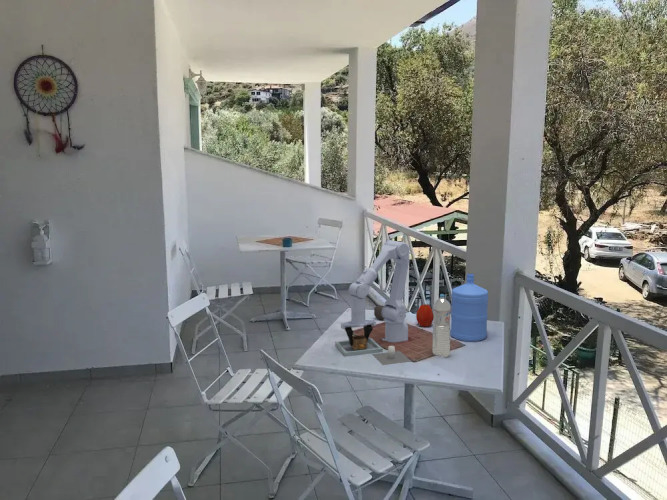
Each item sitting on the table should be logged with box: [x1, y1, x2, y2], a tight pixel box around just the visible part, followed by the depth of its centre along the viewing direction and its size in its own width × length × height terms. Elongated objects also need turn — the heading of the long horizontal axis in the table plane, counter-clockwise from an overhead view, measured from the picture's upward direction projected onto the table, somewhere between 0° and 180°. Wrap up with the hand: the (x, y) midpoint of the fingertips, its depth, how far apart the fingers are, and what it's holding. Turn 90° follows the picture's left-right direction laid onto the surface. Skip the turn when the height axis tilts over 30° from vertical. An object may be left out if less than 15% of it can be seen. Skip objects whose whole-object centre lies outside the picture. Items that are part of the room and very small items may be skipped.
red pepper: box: [415, 303, 434, 328], centre depth 254 cm, size 8×8×11 cm
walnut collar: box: [349, 334, 368, 351], centre depth 220 cm, size 6×8×4 cm
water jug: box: [450, 273, 489, 342], centre depth 236 cm, size 16×16×28 cm
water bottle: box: [432, 293, 452, 358], centre depth 214 cm, size 7×7×25 cm
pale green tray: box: [334, 337, 384, 358], centre depth 222 cm, size 16×14×2 cm
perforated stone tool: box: [373, 304, 384, 321], centre depth 263 cm, size 15×5×7 cm, turn 59°
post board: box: [371, 345, 413, 366], centre depth 211 cm, size 12×12×6 cm
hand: (358, 343), depth 222 cm, fingers open, 6 cm apart
